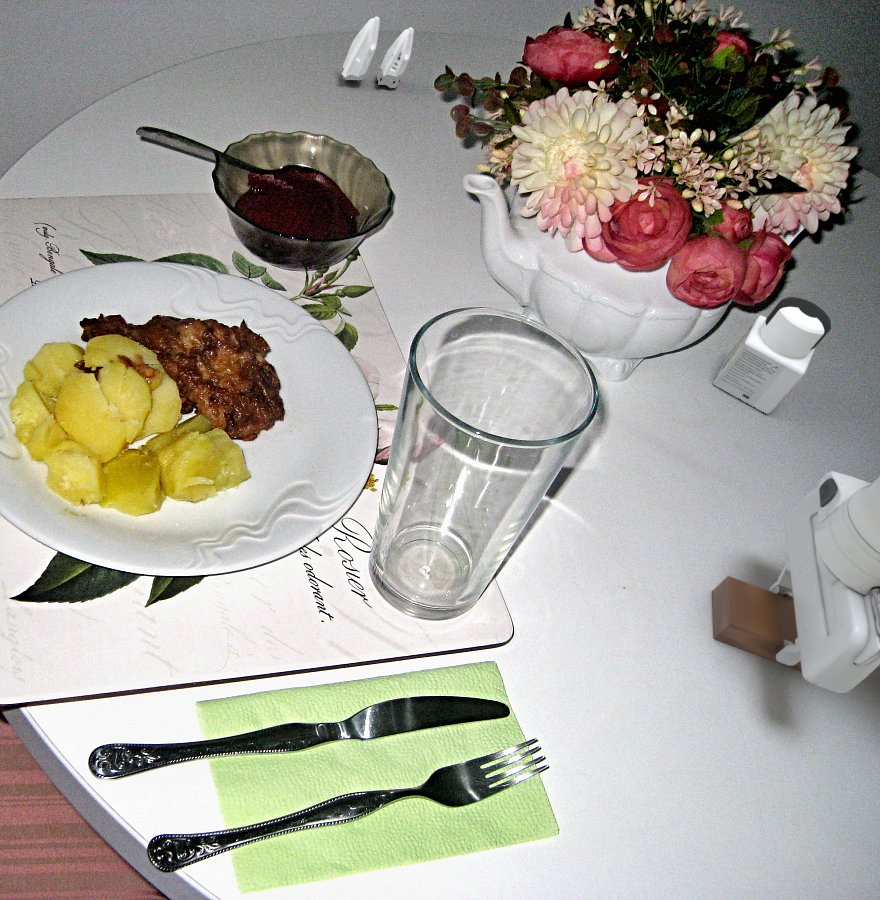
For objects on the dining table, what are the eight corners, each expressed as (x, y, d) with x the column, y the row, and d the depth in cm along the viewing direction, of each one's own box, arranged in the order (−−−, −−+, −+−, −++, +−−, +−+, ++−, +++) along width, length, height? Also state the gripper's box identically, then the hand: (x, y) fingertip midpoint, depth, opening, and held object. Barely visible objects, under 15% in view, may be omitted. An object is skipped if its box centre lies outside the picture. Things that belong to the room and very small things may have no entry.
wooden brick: (823, 632, 92) (842, 617, 90) (830, 682, 88) (850, 668, 86) (711, 591, 93) (728, 575, 91) (713, 638, 89) (730, 623, 87)
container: (726, 356, 121) (785, 281, 111) (780, 386, 119) (845, 312, 109) (711, 384, 116) (771, 308, 107) (767, 416, 114) (834, 341, 105)
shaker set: (339, 88, 149) (356, 22, 141) (332, 75, 152) (348, 9, 144) (404, 91, 153) (424, 27, 145) (395, 79, 156) (415, 15, 147)
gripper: (931, 660, 72) (821, 730, 82) (889, 481, 86) (799, 560, 96) (856, 632, 73) (755, 705, 83) (826, 458, 86) (743, 540, 96)
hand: (779, 626), depth 90 cm, fingers closed on wooden brick, 6 cm apart
